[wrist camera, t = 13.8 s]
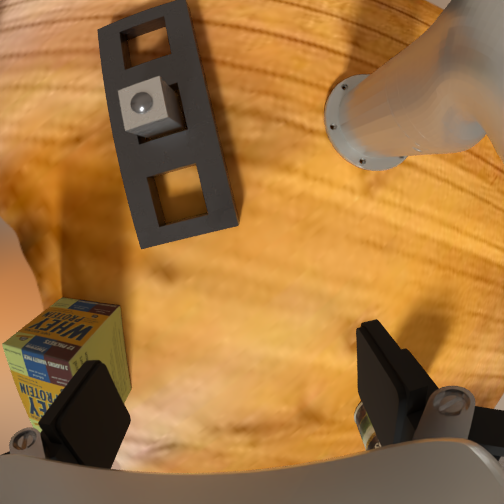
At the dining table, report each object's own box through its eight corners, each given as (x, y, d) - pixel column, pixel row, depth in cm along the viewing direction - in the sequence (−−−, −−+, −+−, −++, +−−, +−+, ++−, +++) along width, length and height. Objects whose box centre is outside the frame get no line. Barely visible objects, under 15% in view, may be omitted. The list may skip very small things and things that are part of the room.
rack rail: (189, 8, 32) (185, -3, 29) (239, 221, 39) (238, 225, 36) (106, 37, 33) (97, 29, 30) (148, 244, 40) (141, 249, 37)
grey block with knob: (179, 96, 35) (158, 75, 26) (186, 129, 36) (167, 116, 27) (145, 106, 35) (116, 90, 26) (152, 139, 36) (124, 130, 27)
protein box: (121, 303, 42) (69, 361, 27) (132, 389, 45) (99, 457, 30) (61, 295, 41) (-1, 342, 26) (77, 378, 45) (35, 436, 30)
